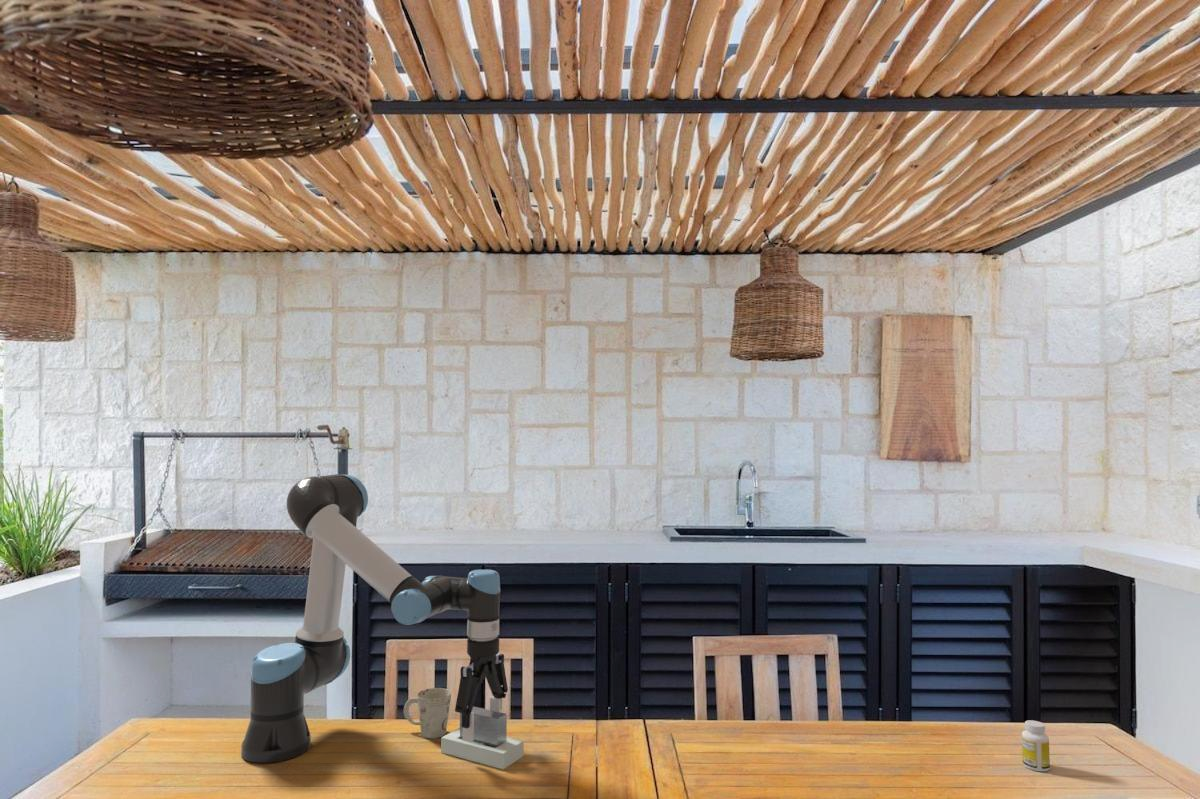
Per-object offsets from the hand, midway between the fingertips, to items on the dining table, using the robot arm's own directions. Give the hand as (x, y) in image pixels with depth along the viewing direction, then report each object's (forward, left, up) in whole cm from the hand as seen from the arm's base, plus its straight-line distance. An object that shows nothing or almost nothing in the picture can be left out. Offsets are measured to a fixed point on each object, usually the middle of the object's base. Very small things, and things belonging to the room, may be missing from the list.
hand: (481, 733), depth 176 cm
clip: (0, 0, -5) cm, 5 cm away
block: (0, 0, -5) cm, 5 cm away
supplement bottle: (+114, +57, -5) cm, 128 cm away
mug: (-20, +3, -5) cm, 21 cm away
